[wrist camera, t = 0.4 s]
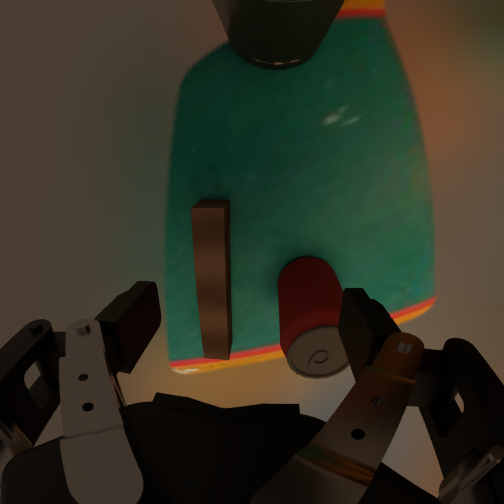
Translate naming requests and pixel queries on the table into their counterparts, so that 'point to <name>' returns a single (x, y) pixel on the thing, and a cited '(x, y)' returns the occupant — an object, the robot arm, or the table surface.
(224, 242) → the walnut plank
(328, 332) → the beer can
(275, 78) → the table surface
